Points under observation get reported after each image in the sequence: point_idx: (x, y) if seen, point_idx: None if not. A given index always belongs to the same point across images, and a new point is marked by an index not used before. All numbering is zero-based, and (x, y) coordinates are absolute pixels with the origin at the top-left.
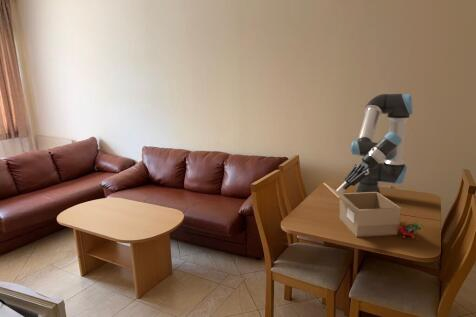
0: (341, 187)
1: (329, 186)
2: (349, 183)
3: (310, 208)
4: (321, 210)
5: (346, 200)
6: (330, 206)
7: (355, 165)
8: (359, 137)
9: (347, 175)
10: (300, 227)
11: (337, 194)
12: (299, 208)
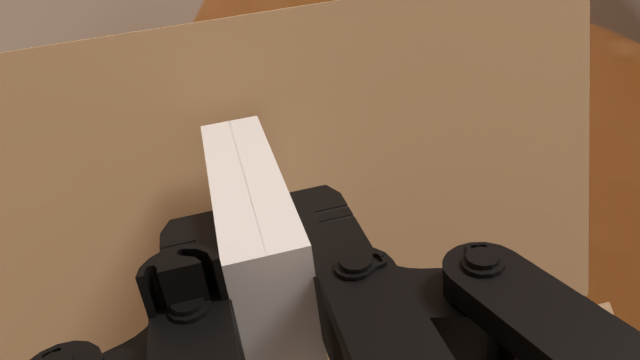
0: (208, 180)
1: (558, 77)
2: (121, 344)
3: (619, 110)
4: (601, 195)
5: (97, 306)
6: None
7: None
8: None
9: (580, 328)
10: (241, 14)
11: (31, 111)
12: (595, 29)
